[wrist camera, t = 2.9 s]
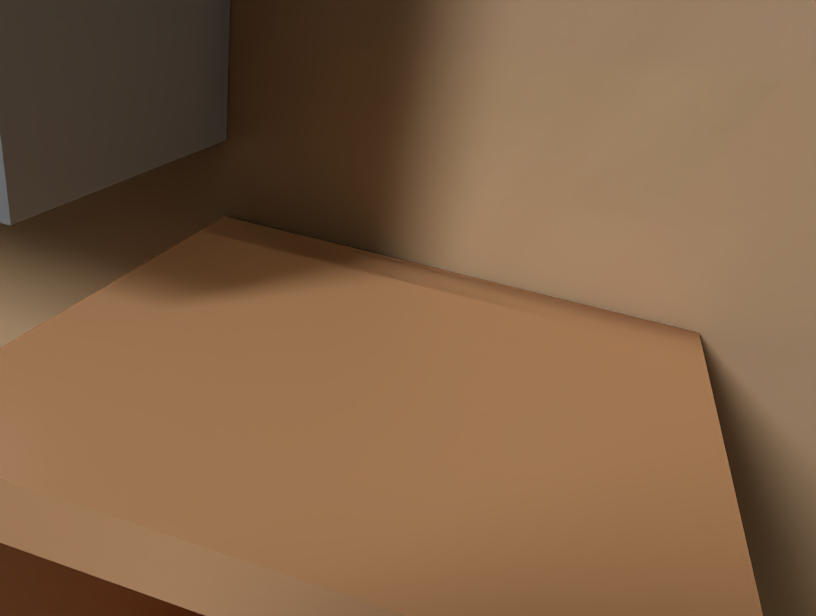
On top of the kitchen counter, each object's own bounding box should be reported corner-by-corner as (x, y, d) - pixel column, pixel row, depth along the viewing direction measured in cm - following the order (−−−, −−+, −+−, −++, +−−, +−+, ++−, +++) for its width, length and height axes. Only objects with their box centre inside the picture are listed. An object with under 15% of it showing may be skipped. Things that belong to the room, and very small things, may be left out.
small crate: (698, 332, 8) (794, 745, 4) (569, 672, 11) (534, 1142, 6) (224, 216, 9) (-141, 430, 5) (213, 552, 12) (-25, 886, 7)
